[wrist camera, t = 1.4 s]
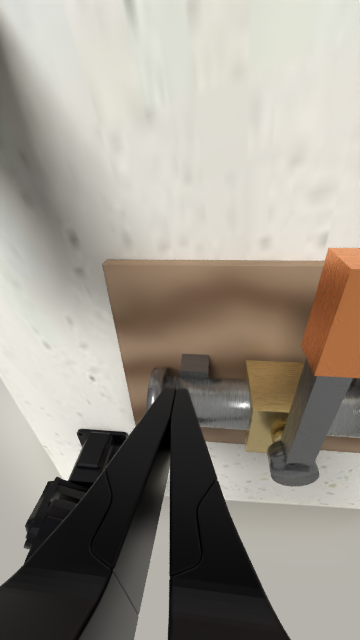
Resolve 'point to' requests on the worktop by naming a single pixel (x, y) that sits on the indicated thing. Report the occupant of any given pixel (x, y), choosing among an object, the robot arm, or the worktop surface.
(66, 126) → the worktop surface
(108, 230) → the worktop surface
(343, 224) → the worktop surface
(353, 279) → the lever
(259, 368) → the valve body
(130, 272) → the mounting board
